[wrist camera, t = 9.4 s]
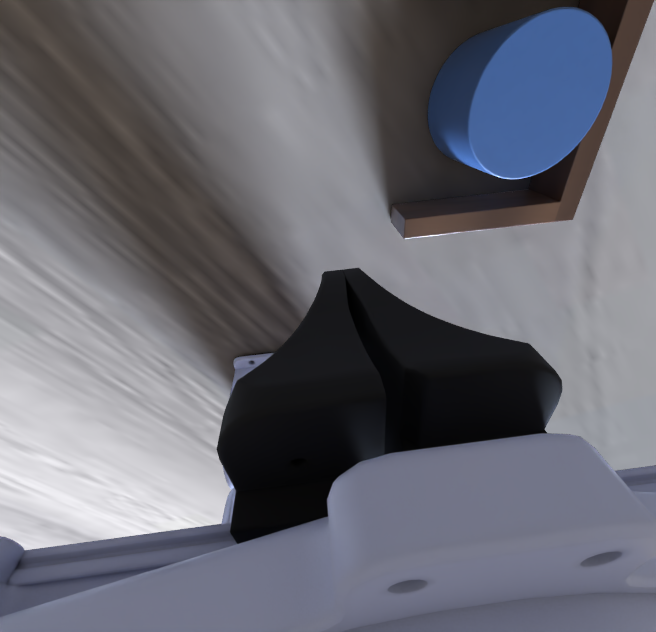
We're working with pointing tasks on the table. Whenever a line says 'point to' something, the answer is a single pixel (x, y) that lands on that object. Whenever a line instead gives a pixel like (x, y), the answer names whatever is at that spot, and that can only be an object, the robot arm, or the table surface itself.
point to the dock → (555, 182)
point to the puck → (522, 93)
